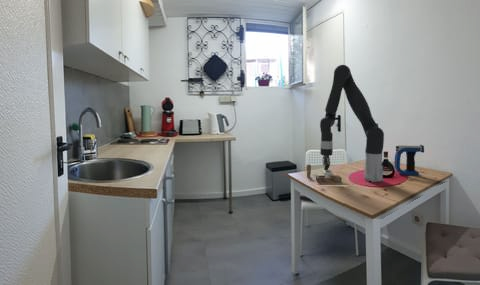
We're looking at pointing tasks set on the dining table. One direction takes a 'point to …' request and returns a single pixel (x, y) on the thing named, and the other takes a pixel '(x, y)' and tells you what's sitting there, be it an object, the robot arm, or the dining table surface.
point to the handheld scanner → (410, 158)
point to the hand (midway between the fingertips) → (325, 173)
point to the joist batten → (328, 179)
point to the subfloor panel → (315, 175)
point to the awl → (308, 170)
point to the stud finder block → (327, 172)
